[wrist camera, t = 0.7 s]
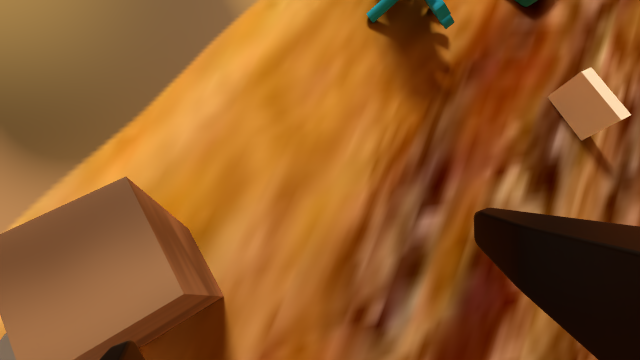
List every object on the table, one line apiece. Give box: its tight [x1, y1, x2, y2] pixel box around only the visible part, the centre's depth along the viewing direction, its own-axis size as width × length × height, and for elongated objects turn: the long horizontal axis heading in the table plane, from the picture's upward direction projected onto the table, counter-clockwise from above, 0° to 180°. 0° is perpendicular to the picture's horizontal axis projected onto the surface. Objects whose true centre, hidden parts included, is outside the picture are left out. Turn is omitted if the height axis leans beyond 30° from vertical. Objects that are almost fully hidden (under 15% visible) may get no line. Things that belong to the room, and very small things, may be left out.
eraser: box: [548, 68, 631, 141], centre depth 28 cm, size 1×5×4 cm, turn 27°
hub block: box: [0, 177, 224, 360], centre depth 16 cm, size 5×5×10 cm
